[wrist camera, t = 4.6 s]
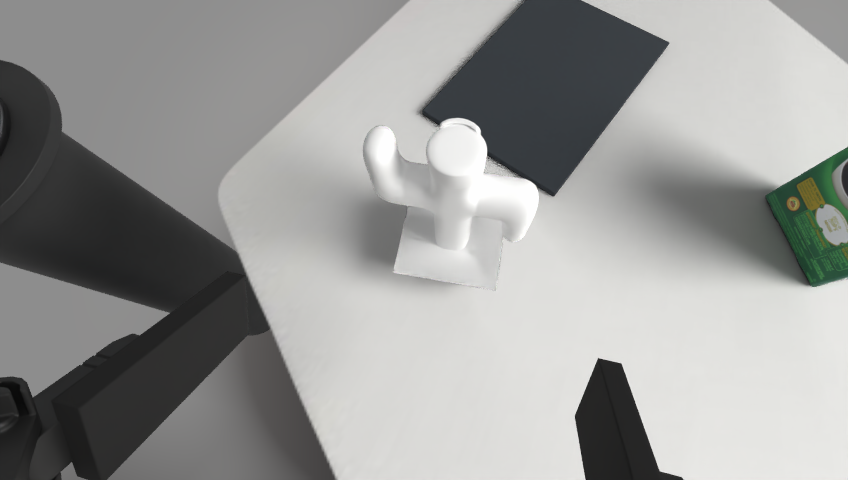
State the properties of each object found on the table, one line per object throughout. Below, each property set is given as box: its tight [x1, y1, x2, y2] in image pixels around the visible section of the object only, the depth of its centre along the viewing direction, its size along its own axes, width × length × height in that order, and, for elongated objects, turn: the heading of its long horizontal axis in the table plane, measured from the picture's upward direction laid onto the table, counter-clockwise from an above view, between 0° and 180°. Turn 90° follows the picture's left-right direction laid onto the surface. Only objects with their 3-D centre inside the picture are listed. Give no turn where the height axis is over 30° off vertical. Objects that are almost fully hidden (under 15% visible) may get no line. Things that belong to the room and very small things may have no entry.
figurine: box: [363, 118, 539, 291], centre depth 26 cm, size 7×9×15 cm
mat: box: [423, 0, 669, 196], centre depth 38 cm, size 20×14×1 cm
